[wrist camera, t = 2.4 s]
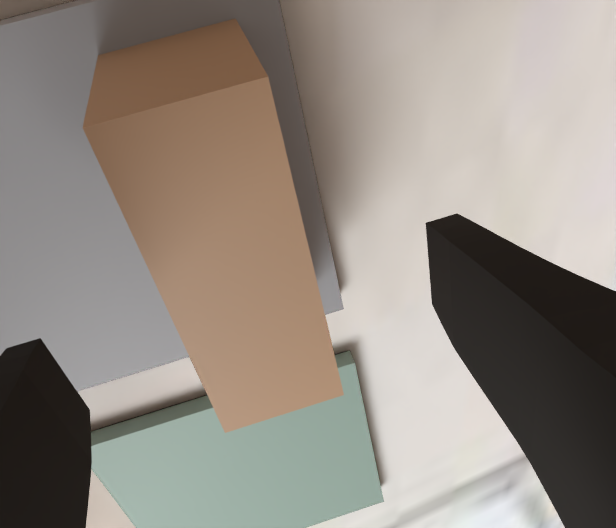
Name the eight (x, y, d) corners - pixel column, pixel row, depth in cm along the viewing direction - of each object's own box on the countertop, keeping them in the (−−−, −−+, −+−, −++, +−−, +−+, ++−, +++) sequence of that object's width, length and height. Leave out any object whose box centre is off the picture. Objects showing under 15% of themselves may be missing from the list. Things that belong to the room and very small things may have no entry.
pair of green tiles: (-124, 657, 24) (-130, 673, 23) (-307, 556, 18) (-319, 575, 18) (379, 489, 25) (383, 501, 25) (349, 350, 20) (354, 362, 19)
